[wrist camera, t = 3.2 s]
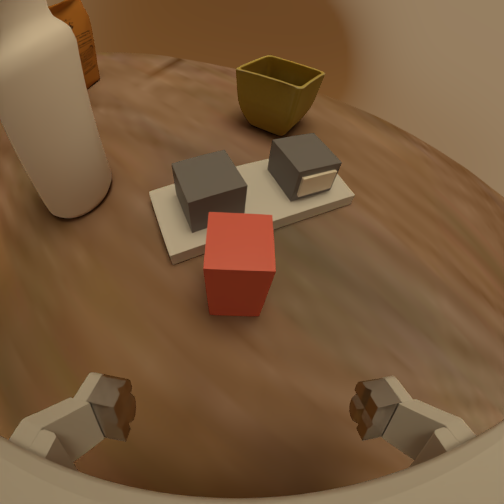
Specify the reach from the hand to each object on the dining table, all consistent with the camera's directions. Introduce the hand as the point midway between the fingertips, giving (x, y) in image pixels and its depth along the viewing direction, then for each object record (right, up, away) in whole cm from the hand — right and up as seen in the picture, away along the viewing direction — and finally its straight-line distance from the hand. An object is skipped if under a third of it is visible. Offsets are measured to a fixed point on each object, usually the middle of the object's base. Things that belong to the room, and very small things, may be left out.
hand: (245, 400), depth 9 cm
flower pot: (+3, +23, +28) cm, 37 cm away
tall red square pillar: (-1, +2, +15) cm, 15 cm away
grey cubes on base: (+1, +10, +20) cm, 23 cm away
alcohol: (-20, +12, +19) cm, 30 cm away
